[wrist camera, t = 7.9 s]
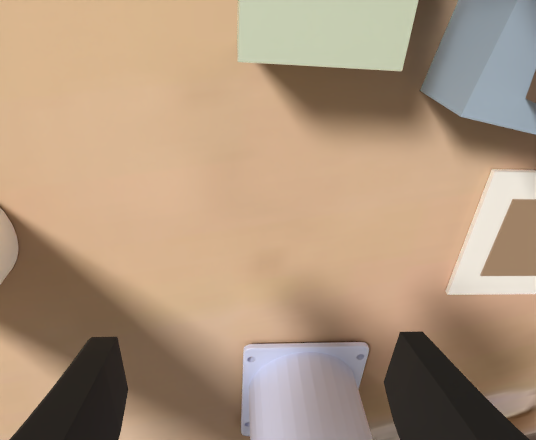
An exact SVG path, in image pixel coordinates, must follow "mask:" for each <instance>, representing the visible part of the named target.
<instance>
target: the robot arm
mask: <svg viewBox="0 0 536 440" xmlns="http://www.w3.org/2000/svg"><path fill="white" fill-rule="evenodd" d="M368 353H369V347H368V345H367V343H365V342H332V343H279V344H249V345H247V346H245V347H244V350H243V380H242V409H241V434H243V435H244V436H250V440H373V438H372V434H371V431H370V428H369V424H368V421H367V418H366V414H365V411H364V408H363V404H362V401H361V397H360V394H359V391H358V389H359V386H360V382H361V379H362V375H363V371H364V368H365V364H366V360H367V357H368ZM384 385H385V389H386V393H387V397H388V402H389V406H390V409H391V413H392V417H393V421H394V424H395V426H396V429H397V432H398V435H399V437H400V440H529V439H528V438H527V437H526V436H525V435H524V434H523V433H522V432H521V431H519V430H518V429H517V428H516V427H515V426H514V425H513V424H512V423H511V422H510V421H509V420H508V419H507V418H506V417H505V416H504V415H503V414H502V413H501V412H499V411H498V410H497V409H496V408H495V407H494V406H493V405H492V404H491V403H490V402H489V401H488V400H487V399H486V398H485V397H484V396H483V395H482V394H481V393H480V392H479V391H478V390H477V388H476V387H475V386H474V385H473V384H472V383H471V382H470V381H469V380H468V379H467V378H466V377H465V376H464V375H463V374H462V373H461V372H460V371H459V370H458V369H457V368H456V367H455V366H454V364H453V363H452V362H451V361H450V360H449V359H448V358H447V357H446V356H445V355H444V354H443V353H442V352H441V351H440V350H439V349H438V347H437V346H436V345H435V344H434V343H433V342H432V341H431V340H430V339H429V338H428V337H427V336H426V335H425V334H424V333H423V332H400V334H399V337H398V340H397V343H396V346H395V349H394V352H393V355H392V358H391V362H390V365H389V368H388V371H387V374H386V377H385V380H384ZM127 393H128V387H127V382H126V377H125V372H124V367H123V362H122V357H121V353H120V348H119V343H118V338H117V337H92V338H90V339H89V340H88V341H87V343H86V344H85V345H84V347H83V348H82V349H81V351H80V352H79V353H78V355H77V356H76V358H75V359H74V360H73V362H72V363H71V364H70V366H69V367H68V368H67V370H66V371H65V372H64V374H63V375H62V376H61V377H60V379H59V380H58V381H57V383H56V384H55V385H54V386H53V388H52V389H51V390H50V392H49V393H48V394H47V395H46V397H45V398H44V399H43V400H42V401H41V403H40V404H39V405H38V406H37V408H36V409H35V410H34V411H33V413H32V414H31V415H30V416H29V417H28V419H27V420H26V421H25V422H24V424H23V425H22V426H21V427H20V428H19V429H18V431H17V432H16V433H15V434H14V435H13V436H12V437H11V439H10V440H118V439H119V435H120V432H121V426H122V421H123V416H124V410H125V404H126V398H127Z"/></svg>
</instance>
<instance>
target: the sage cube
mask: <svg viewBox="0 0 536 440" xmlns="http://www.w3.org/2000/svg"><path fill="white" fill-rule="evenodd" d="M417 5H418V0H238V21H237V50H238V62H249V63H266V64H284V65H301V66H318V67H336V68H353V69H370V70H388V71H402V69H403V65H404V61H405V56H406V52H407V48H408V43H409V39H410V35H411V31H412V26H413V22H414V18H415V13H416V9H417Z"/></svg>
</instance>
